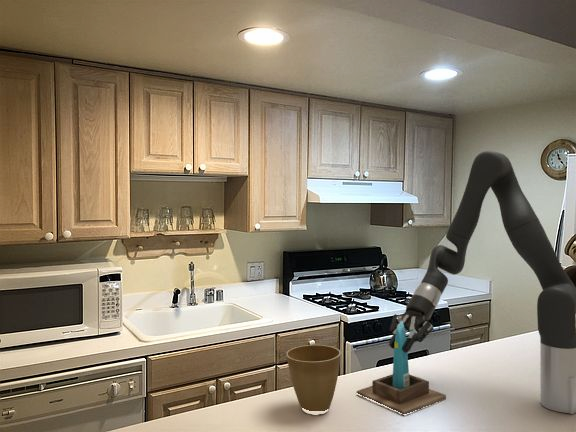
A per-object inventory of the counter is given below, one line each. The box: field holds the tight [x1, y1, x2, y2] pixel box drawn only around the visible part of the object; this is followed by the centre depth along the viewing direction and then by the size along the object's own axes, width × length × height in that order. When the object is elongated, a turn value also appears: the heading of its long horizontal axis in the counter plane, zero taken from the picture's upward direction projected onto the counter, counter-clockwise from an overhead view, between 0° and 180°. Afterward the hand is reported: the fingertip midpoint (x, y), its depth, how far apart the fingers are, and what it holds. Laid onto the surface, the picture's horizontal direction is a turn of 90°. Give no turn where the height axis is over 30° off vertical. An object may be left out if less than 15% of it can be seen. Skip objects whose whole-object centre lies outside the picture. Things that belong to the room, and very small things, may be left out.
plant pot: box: [286, 344, 342, 411], centre depth 132 cm, size 15×15×16 cm
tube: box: [392, 321, 410, 389], centre depth 140 cm, size 7×5×19 cm, turn 160°
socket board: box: [356, 373, 447, 414], centre depth 140 cm, size 18×18×5 cm
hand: (397, 348), depth 139 cm, fingers closed on tube, 4 cm apart
